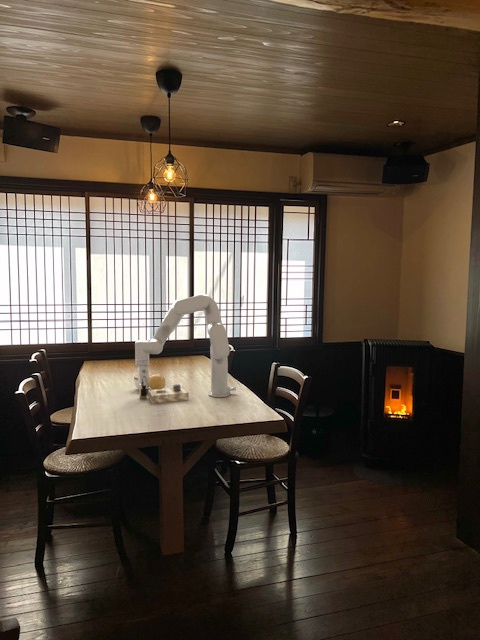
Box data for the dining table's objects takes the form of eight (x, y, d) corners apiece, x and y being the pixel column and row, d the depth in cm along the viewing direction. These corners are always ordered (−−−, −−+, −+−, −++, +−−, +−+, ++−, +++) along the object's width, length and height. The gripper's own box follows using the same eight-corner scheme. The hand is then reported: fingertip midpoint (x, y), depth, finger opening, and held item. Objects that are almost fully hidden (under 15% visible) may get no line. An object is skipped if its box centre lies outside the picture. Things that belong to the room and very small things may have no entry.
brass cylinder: (146, 397, 266) (146, 383, 265) (147, 398, 262) (147, 384, 261) (139, 397, 264) (138, 383, 263) (140, 399, 260) (139, 385, 260)
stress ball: (146, 393, 277) (152, 385, 270) (145, 378, 282) (150, 370, 275) (163, 394, 281) (168, 386, 274) (161, 379, 287) (167, 371, 280)
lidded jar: (130, 390, 280) (130, 375, 279) (138, 386, 290) (138, 371, 289) (147, 391, 277) (147, 376, 276) (155, 387, 288) (154, 372, 287)
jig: (183, 393, 272) (182, 381, 271) (188, 399, 260) (188, 387, 259) (148, 397, 265) (148, 384, 265) (152, 403, 253) (151, 390, 253)
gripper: (151, 365, 254) (152, 398, 256) (146, 359, 270) (147, 390, 272) (137, 366, 252) (138, 399, 254) (133, 360, 267) (134, 391, 269)
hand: (143, 394), depth 263 cm, fingers closed on brass cylinder, 4 cm apart
